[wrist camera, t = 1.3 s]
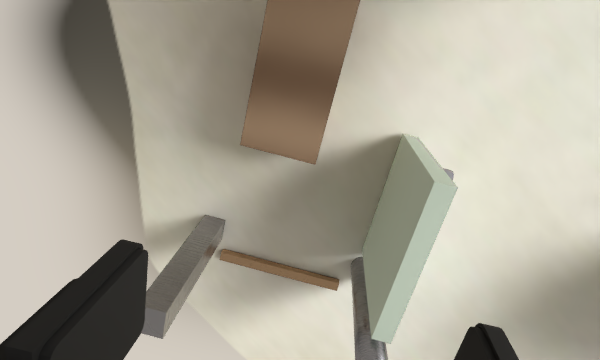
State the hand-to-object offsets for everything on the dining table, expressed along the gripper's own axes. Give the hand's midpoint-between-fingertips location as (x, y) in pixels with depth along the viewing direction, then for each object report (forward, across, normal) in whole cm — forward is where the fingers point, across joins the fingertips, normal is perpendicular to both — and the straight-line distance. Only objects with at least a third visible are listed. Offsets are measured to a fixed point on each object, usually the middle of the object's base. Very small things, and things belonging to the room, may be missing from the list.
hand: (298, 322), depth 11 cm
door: (+20, -6, +3) cm, 21 cm away
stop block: (+20, +3, -5) cm, 21 cm away
